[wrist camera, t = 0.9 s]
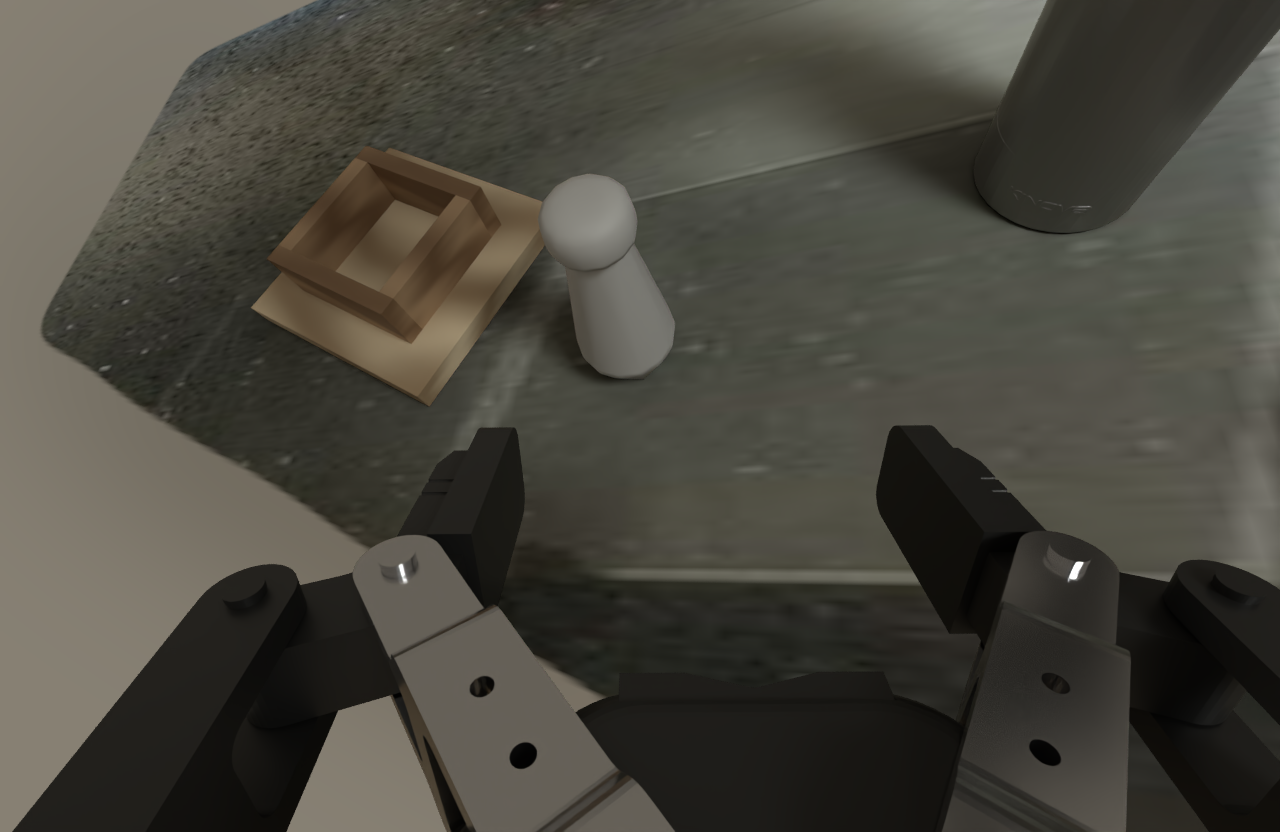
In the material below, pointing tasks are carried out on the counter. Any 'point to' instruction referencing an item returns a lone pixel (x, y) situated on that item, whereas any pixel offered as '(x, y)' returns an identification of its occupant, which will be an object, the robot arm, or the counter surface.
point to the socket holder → (402, 268)
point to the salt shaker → (607, 277)
